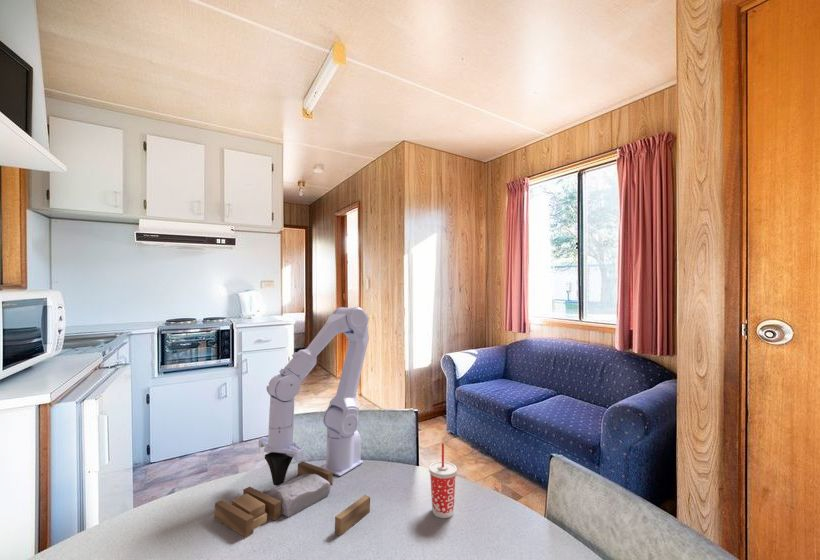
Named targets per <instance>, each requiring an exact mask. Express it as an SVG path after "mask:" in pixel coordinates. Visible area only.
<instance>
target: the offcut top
mask: <svg viewBox="0 0 820 560" xmlns="http://www.w3.org/2000/svg"><path fill="white" fill-rule="evenodd" d="M231 504H232V505H234V506H235V507H237V508H239V509H241V510H243V511H245V512H246V513H248V514H250V515H252V516H254V519H256V518H257V517H259V516H261V515H263V514H265V504H264V503H262V502H261V501H259V500H257V499H256V498H254V497H252V496H251V495H249V494H245V495H243V494H242V495H240V496H238V497H236V498H234V499H231Z"/></svg>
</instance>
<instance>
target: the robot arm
mask: <svg viewBox="0 0 820 560" xmlns="http://www.w3.org/2000/svg"><path fill="white" fill-rule="evenodd" d="M369 319H370V317H369V316H368V314H367V313H366V312H365V310H364V309H363V308H362V307H359V306H354V307H344V306H340V307H337V308H336V309H334V310H333V313H332V314H330V315H329V316H328V317H327V320H326V322H325V323H324V325H322V328H321V329H320V330H319V331H318V333H317V334H316V336H315V337H314V338H313V339H312V340H311V342H310V343H309V345H308V346H307V347H306V348H304V349H299V350H298V351H297V352H296V351H295V352H293V354H292V355H291V357H292V358H291V359H290V361H289V362H288V363H287V364H286V365H285V366H284V368H281V369H280V370H279V373H278V374H277V375H273V377H271V379H270V380H269V382H268V385H267V386H266V391H267V394H268V395H269V396H270V397H269V398H270V399H269V401H270V402H269V410H268V412H269V415H268V434H267V435H268V436H264V437H260V438H259V439H258V447H259V448H263V452H264V453H265V454H264V459H265V461H266V463H267V465H268V468H269V471H270V474H271V475H270V476H271V478H272V479H271V480H272V483H273V485H274V486H275V487H279V486H281V485H283V484H284V483H285V480H286V475H287V474H288V473H287V472H288V469H289V466H290V465H291V462H292V461H293V460H294V461H298V460H301V459H303V458H304V455H305V454H304V453H305V452H304V451H305V450H304V448H302V447H300V446H299V445H298V444H297V443H296V441H295V442H294V423H295V421H294V419H295V399H296V398H295V397H296V396H297V395H298V394H299V392H300V387H301V384H302V382H303V381H304V380H305V379H306V377H308V376H309V374H310V372H311V371H312V369H314V367H315V366H316V365H317V360H318V359H317V356H319V354H320V353H321V352H322V351H323V350H324V349H325V348H326V346H328V344H329V343H330V342H331V341H332V340H333V339H334V338H335V337H336V335H339V334H344V335H345V337H346V339H348V344H347V350H346V354H345V357H344V361H343V365H342V370H341V374H340V376H339V377H340V378H339V381H338V386H337V389H336V390H337V391H336V394H335V396H334V397H333V398H331V400H330V401H329V403H328V406H327V408H326V410H325V412H324V414H323V416H322V417H323V418H322V423H323V425H324V426H325V427H326V452H325V453H326V454H325V455H326V459H325V463H324V464H321V465H320V466H319V467H320V468H323V469H326V470H328V471H331V472H333V475H335V476H338V477H341V476H343V475H345V474H347V473H348V472H350V471H351V470H354V469H355V468H357V467H358V466H359V465H362V464H363V463H364V461H363V460H362V459H361V456H362V455H361V454H362V453H361V452H362V449H361V447H362V438H361V437H362V436H361V435H360V432H359V431H358V428H359V427H358V426H359V424H360V423H359V422H360V421H359V410H360V408H359V405H358V403H357V401H356V396H357V393H358V387H359V383H360V378H361V375H362V370H363V365H364V361H365V357H366V354H367V353H366V352H367V348H368V344H369V337H370V336H369V329H368V328H369V327H368V323H369Z"/></svg>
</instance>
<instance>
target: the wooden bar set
mask: <svg viewBox="0 0 820 560" xmlns="http://www.w3.org/2000/svg"><path fill="white" fill-rule="evenodd" d="M305 474H316V475H318V476H320V477H322V478H324V479H325V480H327V481H328V482H329V483H330V486H332V485H333V477H334V476H333V475H334V474H333V472H331V471H328V470H326V469H323V468H320V466H317V465H314V464H311V463H308V462H305V461H299V463H297V477H299V476H301V475H305ZM242 490H243V491H242V495H245V494H249V495H251V496H252V497H254V498H256V499H257V500H259V501H261V502H262V503H264V504H265V513H267V519H268V518H269V519H270V520H272V521H276V520H277V519H280V518H281V515H282V514H281V501H279V500H277V499H275V498H273V497H271V496H269V494H266V493H264V492H262V491H260V490H258V489H256V488H254V487H251V486H247V488H243V489H242ZM214 504H215V505H214V520H216V521H218V522H219V523H221V524H223V525H225V526H226V527H228V528H229V529H230V530H232V531H234V532H235V533H237V534H239V535H240V536H242V537H244V538H245V539H246V538H249V536H251V535H253V534H254V530H253V528H254V516H252V515H250V514H248V513H246V512H245V511H243V510H241V509H239V508H237V507H235V506H234V505H232V503H230V502H228V501H226V500H224V499H220V500H219V501H215V503H214ZM370 512H371V496H370V495H369V496H368V495H366V494H364V495H362V496H361V497H359V498H358V499H357V500H355V501H354V502H353V503H351V505H349V506H347V507H345V509H343V510H342V511H341V512H339V513H338V514H337V515H335V516H334V534H336V535H338V536H342V535H343V534H345V533H346V532H348V531H349V529H351V528H353V526H355V525H356V524H357V523H358V522H359V521H360V520H362V519H363V518H365V516H367V515H368V514H369V513H370Z"/></svg>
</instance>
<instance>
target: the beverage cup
mask: <svg viewBox="0 0 820 560" xmlns="http://www.w3.org/2000/svg"><path fill="white" fill-rule="evenodd" d="M428 472H429V476H430V491H431V507H432V508H431V509H432V511H431V512H432V514H433V515H434V516H435V517H437V518H440V519H447V518H451V517H453V515H454V512H455V493H456V477H457V476H456V475H457V473H458V468H457V466H456V465H455V464H454V463H452V462H448V461H445V443H443V442H442V443H441V461H435V462H432V463H430V464H429V467H428Z"/></svg>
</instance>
